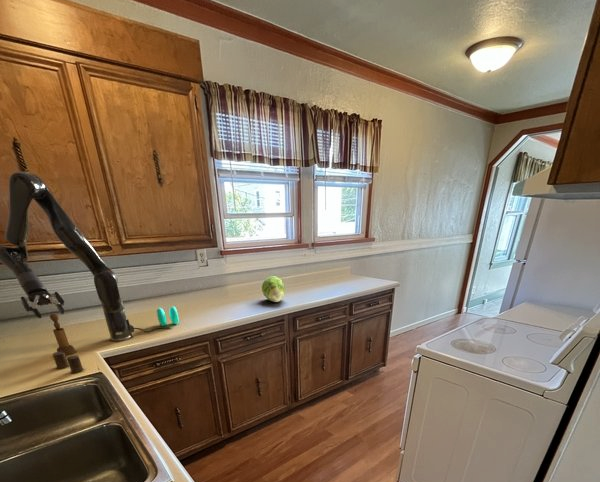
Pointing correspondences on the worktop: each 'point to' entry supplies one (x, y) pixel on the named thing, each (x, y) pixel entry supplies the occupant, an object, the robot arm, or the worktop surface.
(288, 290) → the worktop surface
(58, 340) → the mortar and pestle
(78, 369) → the far peg
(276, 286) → the lettuce
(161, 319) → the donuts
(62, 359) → the middle peg
